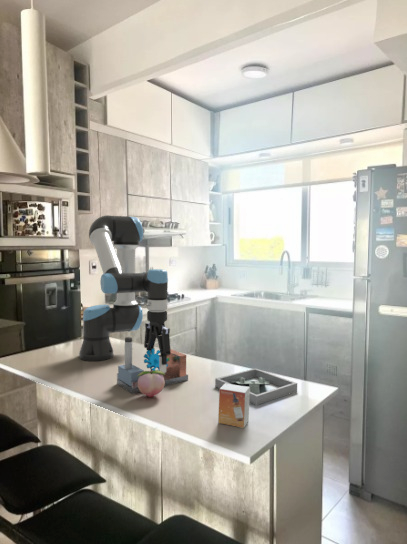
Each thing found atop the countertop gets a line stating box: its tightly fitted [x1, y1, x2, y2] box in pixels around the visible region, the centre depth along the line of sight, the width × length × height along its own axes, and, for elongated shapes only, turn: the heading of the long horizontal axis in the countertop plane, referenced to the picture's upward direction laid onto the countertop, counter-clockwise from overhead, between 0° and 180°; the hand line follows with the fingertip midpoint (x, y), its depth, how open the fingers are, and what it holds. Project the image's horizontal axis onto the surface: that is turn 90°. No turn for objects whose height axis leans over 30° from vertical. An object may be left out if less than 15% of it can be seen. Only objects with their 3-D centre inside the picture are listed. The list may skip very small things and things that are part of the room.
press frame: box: [116, 348, 189, 395], centre depth 149 cm, size 12×24×10 cm, turn 129°
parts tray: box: [214, 368, 298, 406], centre depth 144 cm, size 21×21×3 cm
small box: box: [217, 383, 250, 429], centre depth 116 cm, size 8×6×10 cm
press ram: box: [117, 336, 145, 387], centre depth 143 cm, size 10×5×16 cm, turn 39°
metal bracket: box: [230, 377, 270, 395], centre depth 145 cm, size 14×6×15 cm
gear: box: [143, 348, 170, 371], centre depth 151 cm, size 11×6×10 cm
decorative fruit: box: [137, 369, 165, 398], centre depth 135 cm, size 9×8×10 cm
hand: (156, 369), depth 150 cm, fingers closed on gear, 8 cm apart
